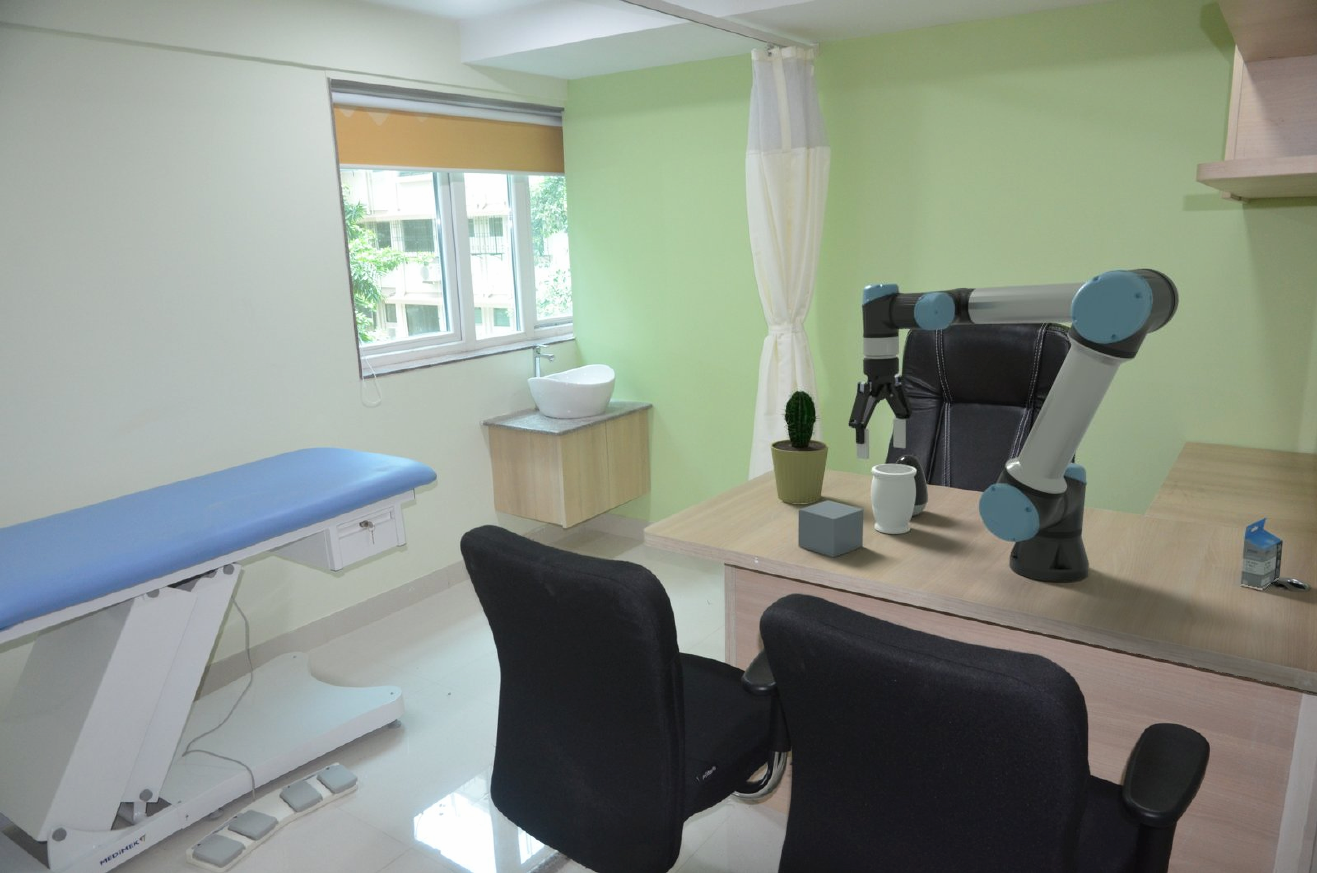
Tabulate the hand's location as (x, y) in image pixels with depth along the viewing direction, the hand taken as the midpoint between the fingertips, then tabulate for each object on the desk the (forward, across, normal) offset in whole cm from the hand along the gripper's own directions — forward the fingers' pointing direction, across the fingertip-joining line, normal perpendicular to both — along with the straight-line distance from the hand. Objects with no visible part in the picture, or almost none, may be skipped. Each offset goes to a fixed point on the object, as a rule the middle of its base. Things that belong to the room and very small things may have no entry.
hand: (881, 452), depth 195 cm
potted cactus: (+21, -18, -39) cm, 48 cm away
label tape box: (+25, -34, +64) cm, 76 cm away
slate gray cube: (+22, +7, -9) cm, 25 cm away
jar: (+22, -13, -6) cm, 27 cm away
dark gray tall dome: (+22, -26, -11) cm, 36 cm away
